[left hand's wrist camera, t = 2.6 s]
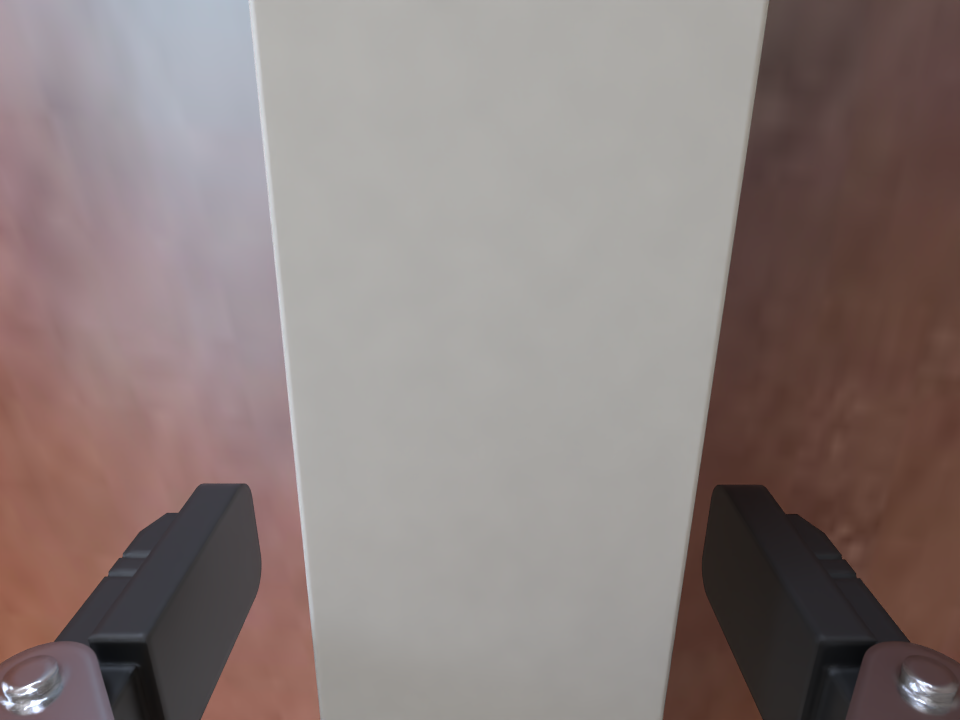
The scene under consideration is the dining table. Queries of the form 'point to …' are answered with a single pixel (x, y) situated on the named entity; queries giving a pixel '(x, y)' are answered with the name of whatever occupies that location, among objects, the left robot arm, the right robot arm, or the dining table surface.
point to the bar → (500, 335)
